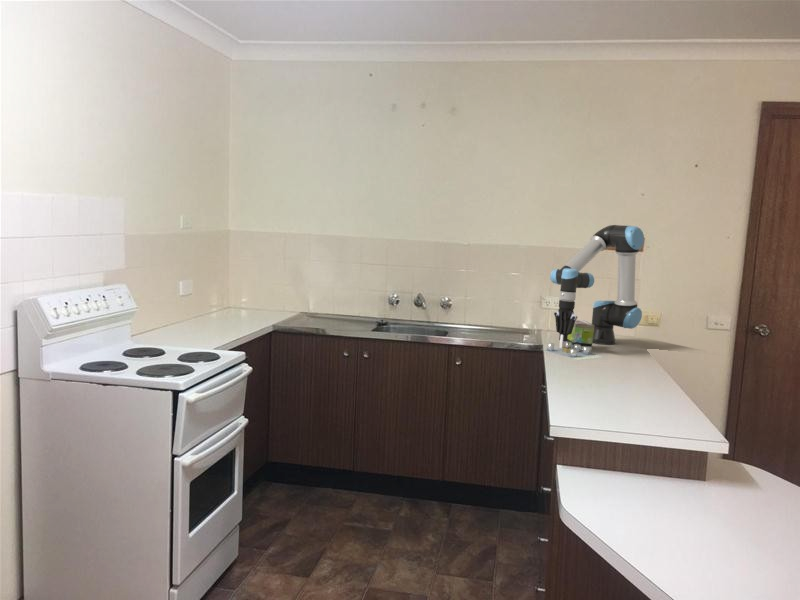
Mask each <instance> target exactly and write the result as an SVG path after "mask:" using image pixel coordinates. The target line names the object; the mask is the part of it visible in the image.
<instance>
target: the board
mask: <svg viewBox="0 0 800 600" xmlns="http://www.w3.org/2000/svg"><path fill="white" fill-rule="evenodd" d="M562 350H563V348H554V351H547V349H544V350H543V352H547V353H552V354H556V355H559V356H563V357H567V358H570V359H574V360H577V361H581V360H590V359H598V358H602V356H601V355H598V354H597V355H596V354H593V353H590V352H589V355H585V354H582V353H583V350H580V352H577V357H570V353H565V352H562Z"/></svg>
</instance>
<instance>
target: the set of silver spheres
mask: <svg viewBox="0 0 800 600" xmlns="http://www.w3.org/2000/svg"><path fill="white" fill-rule="evenodd" d="M546 345H547V347H546V350H547V351H546V352H548V351H554V349H555V343H552V342H548V343H547V344H546ZM565 347H569V348H572V343H571V342H566V346H565ZM580 349H581V345H580V344H574V349H570V357H577V352H580V351H581V350H580ZM582 352H583V353H582V354H585V355H589V353H590V352H591V351H590V347H588V346H583V350H582ZM570 357H569V358H570Z"/></svg>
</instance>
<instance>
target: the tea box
mask: <svg viewBox="0 0 800 600" xmlns="http://www.w3.org/2000/svg"><path fill="white" fill-rule="evenodd" d="M593 333H594V325H593V324H592V322H588V321H586V320H584V319H583V320H581V319H576V321H575V324H574V327H573V330H572V333H571V334H569V335H568V337H567V342H571V343H572V348H573V349H574V344H580V345H581V349H580V351H583V346H588V347H590V352H591V351H592V349H593V343H592V341H593Z"/></svg>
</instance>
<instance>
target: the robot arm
mask: <svg viewBox="0 0 800 600" xmlns="http://www.w3.org/2000/svg"><path fill="white" fill-rule="evenodd" d="M644 243H645V236H644V232H643V230H642V229H641V228H639V227H638V226H633V225H621V224H610V225H608V226H605V227H603V228H602V229H600V230H598V231H596V232H595V233H593V235H591V237H590V239H589V242H588V243H587V242H586V244H585V245H584V246H583V247H582V248H581V249H580V250H578V252H577V253H576V254H575V255H573V257H571V258H570V260H569V261H567V262H566V263H565V264H564V265H563V266H562V267H561V268H560V269H559V268H556V269H553V270H552V271H551V273H550V278H549V279H550V280H551V282H552V283H553V284H555V285H559V286H560V289H559V301H558V308H559V309H558V311H556V312H554V313H553V314H554V319H555V330H556V333H558V334H559V339H558V340H559V346H558V347H559V348H558V349H560V348H563V347H565V346H566V342H567V337H568V335H569V334H571V333H572V330H573V327H574V324H575V321H576V320H578V316H577V315H575V312H574V309H575V304H576V295H577V289H588V288H591V287H593V286H594V284H595V277H594V275H593V274H592V273H591V272H590V273H589V272H580V271H581V270H582V269H583V268H584V267H586V266H587V264H588V263H590V261H592V260H593V259H594V258H595V257H597V255H598V254H599V253H600V252H603V251H605V250H606V249H608V248H614V249H615V250H614V251H615V254H617V258H618V259H617V266H618V267H617V292H616V293H617V296H616V300H596V301H594V303H593V307H592V315H591V317H592V318H591V324H593V325H594V333H593V341H592V344H598V345H615V344H616V338H615V332H614V326H615V327H620V328H623V329H630V330H631V329H632V330H633V329H635V328H636V327H638V326H639V324H640V323H641V321H642V317H643V311H642V309H641V308H640V307H638V301H636V300H635V289H636V287H635V286H636V257H637V254H639V251H640V250H641V249H642V248H643V246H644Z"/></svg>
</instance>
